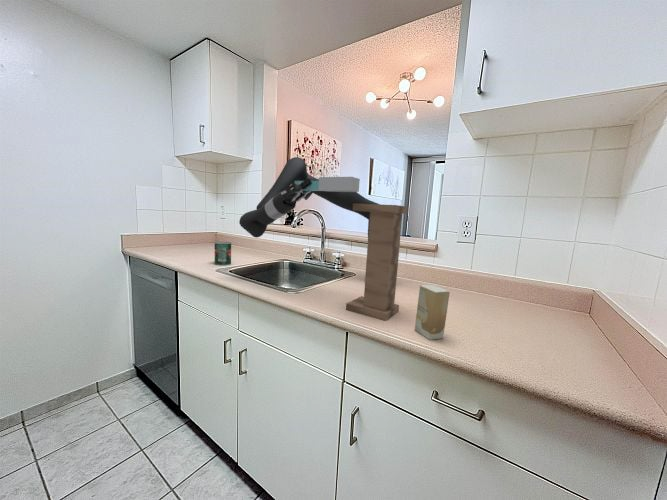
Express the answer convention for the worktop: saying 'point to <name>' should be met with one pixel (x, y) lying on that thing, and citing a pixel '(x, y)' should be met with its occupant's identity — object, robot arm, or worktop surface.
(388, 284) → the tall wooden column
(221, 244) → the canned tomato
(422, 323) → the skincare box
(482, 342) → the worktop surface
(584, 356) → the worktop surface
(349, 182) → the tool
